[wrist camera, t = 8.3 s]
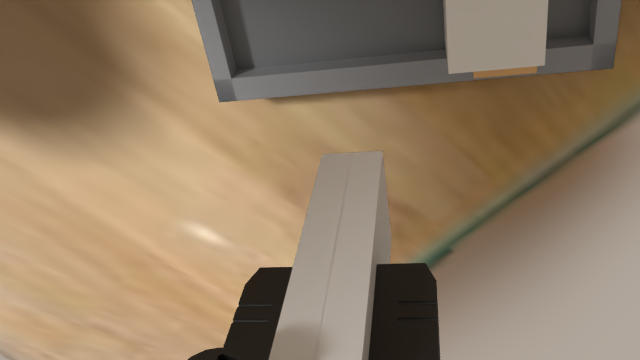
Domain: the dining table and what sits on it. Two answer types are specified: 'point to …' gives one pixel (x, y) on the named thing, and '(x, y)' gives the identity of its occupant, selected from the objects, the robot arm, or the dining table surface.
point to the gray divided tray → (372, 44)
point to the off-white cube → (494, 34)
